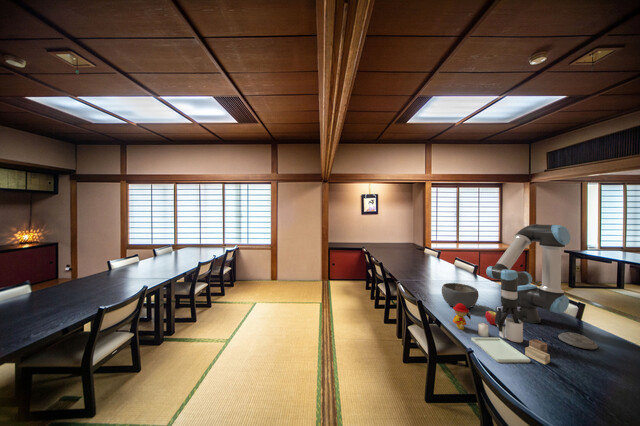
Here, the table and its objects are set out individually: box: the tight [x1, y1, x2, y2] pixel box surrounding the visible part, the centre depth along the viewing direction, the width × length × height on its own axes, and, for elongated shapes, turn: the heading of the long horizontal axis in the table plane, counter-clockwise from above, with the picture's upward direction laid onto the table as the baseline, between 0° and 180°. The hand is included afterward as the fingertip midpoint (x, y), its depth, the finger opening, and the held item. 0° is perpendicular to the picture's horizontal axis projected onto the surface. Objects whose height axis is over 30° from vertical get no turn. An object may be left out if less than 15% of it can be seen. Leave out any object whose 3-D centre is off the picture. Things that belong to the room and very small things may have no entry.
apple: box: [484, 308, 497, 326], centre depth 156 cm, size 8×8×10 cm
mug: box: [496, 317, 524, 343], centre depth 138 cm, size 12×8×10 cm, turn 62°
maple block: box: [524, 345, 551, 365], centre depth 119 cm, size 4×8×4 cm, turn 22°
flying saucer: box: [557, 331, 598, 350], centre depth 133 cm, size 15×15×6 cm
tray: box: [470, 337, 531, 363], centre depth 126 cm, size 16×20×2 cm
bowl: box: [441, 282, 480, 309], centre depth 185 cm, size 24×24×15 cm
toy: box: [452, 303, 472, 331], centre depth 151 cm, size 11×9×15 cm
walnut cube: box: [528, 338, 548, 354], centre depth 125 cm, size 5×5×5 cm
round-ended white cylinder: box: [477, 322, 489, 338], centre depth 142 cm, size 5×5×6 cm
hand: (509, 336), depth 138 cm, fingers closed on mug, 7 cm apart
